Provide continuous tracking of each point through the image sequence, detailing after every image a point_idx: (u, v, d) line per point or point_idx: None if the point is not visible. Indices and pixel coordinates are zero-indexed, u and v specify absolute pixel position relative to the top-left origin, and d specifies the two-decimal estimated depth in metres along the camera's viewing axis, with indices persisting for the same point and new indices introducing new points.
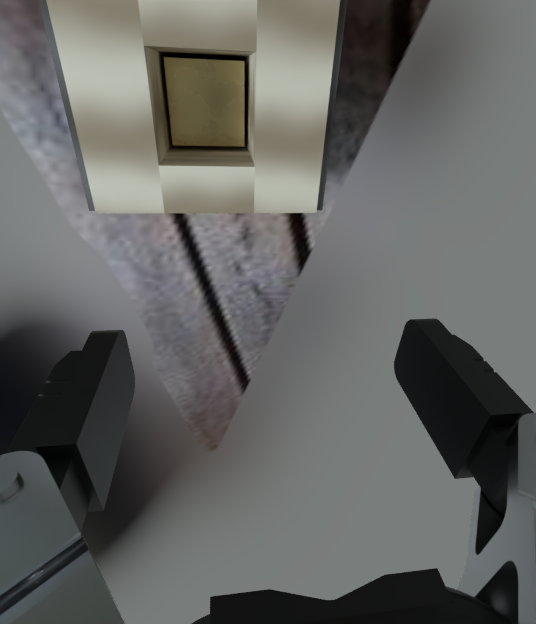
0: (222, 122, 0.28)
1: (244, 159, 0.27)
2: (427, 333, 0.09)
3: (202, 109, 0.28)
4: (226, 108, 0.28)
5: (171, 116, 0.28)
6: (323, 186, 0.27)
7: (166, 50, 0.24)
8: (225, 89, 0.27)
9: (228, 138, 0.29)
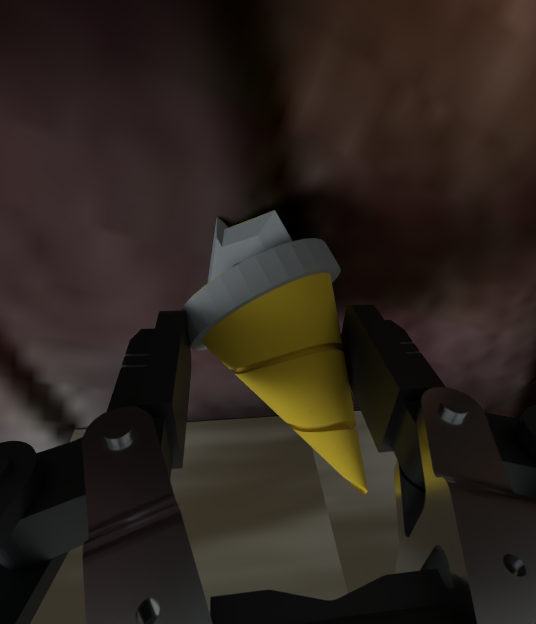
0: None
1: None
2: (360, 317, 0.10)
3: None
4: None
5: None
6: None
7: None
8: None
9: None
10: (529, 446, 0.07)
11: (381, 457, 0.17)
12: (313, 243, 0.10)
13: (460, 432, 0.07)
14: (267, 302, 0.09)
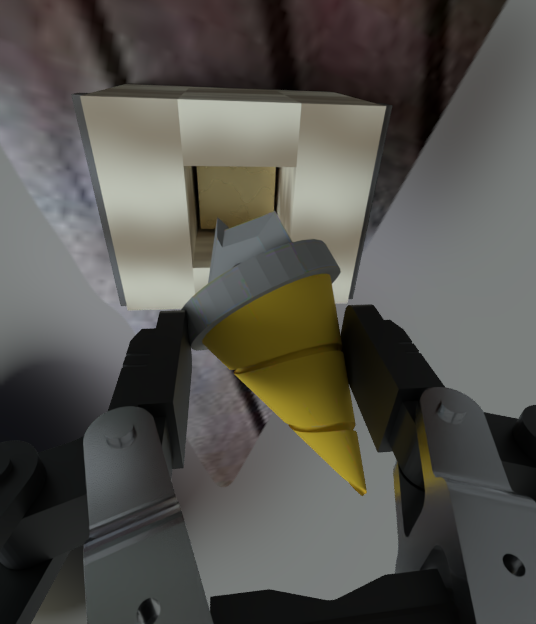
0: (252, 207, 0.28)
1: None
2: (359, 317, 0.10)
3: (232, 196, 0.28)
4: (256, 195, 0.28)
5: (201, 203, 0.28)
6: (355, 278, 0.27)
7: None
8: (256, 178, 0.27)
9: None
10: (528, 446, 0.07)
11: None
12: (313, 244, 0.10)
13: (459, 432, 0.07)
14: (267, 303, 0.09)
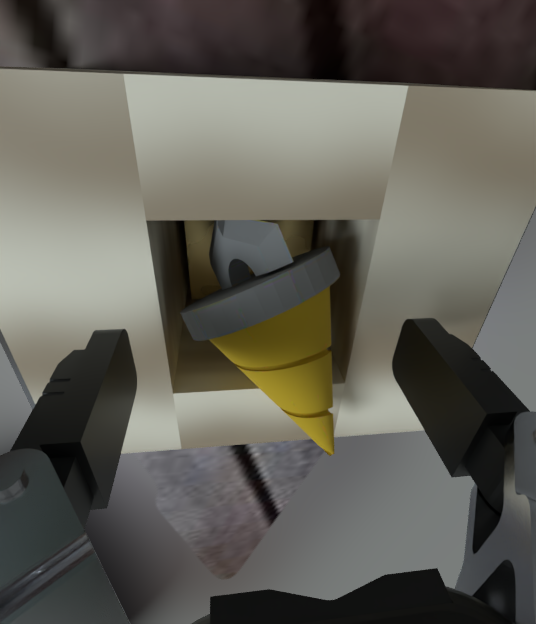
0: None
1: None
2: (424, 332, 0.09)
3: None
4: None
5: (191, 262, 0.17)
6: None
7: None
8: (283, 221, 0.16)
9: None
10: None
11: None
12: (313, 265, 0.10)
13: None
14: (262, 326, 0.10)
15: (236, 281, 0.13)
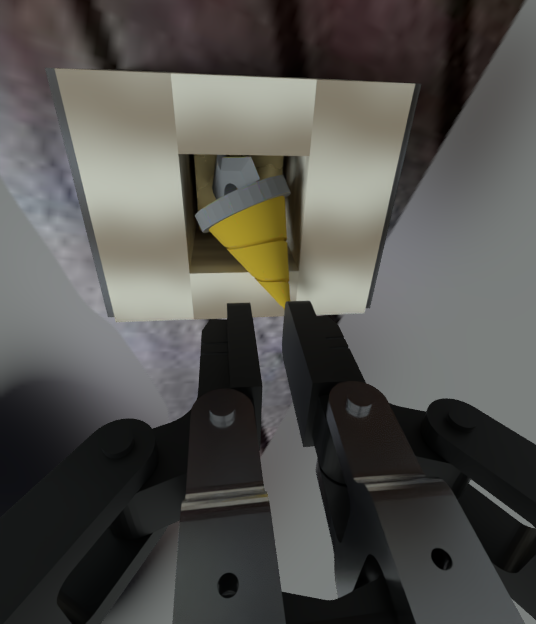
0: None
1: None
2: (292, 313, 0.10)
3: None
4: None
5: (199, 201, 0.25)
6: (373, 285, 0.24)
7: None
8: (261, 173, 0.24)
9: None
10: (438, 446, 0.07)
11: (334, 79, 0.23)
12: (271, 180, 0.18)
13: (359, 425, 0.07)
14: (242, 215, 0.18)
15: None
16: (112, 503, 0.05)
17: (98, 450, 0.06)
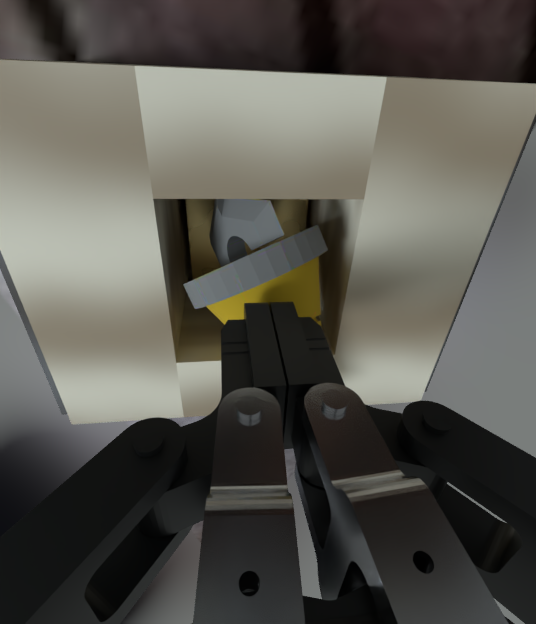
0: None
1: None
2: (274, 314, 0.10)
3: None
4: None
5: (192, 245, 0.18)
6: (434, 364, 0.17)
7: None
8: (278, 207, 0.17)
9: None
10: (415, 451, 0.07)
11: None
12: (302, 237, 0.11)
13: (333, 427, 0.07)
14: (257, 292, 0.11)
15: (234, 258, 0.14)
16: (141, 501, 0.05)
17: (129, 447, 0.06)
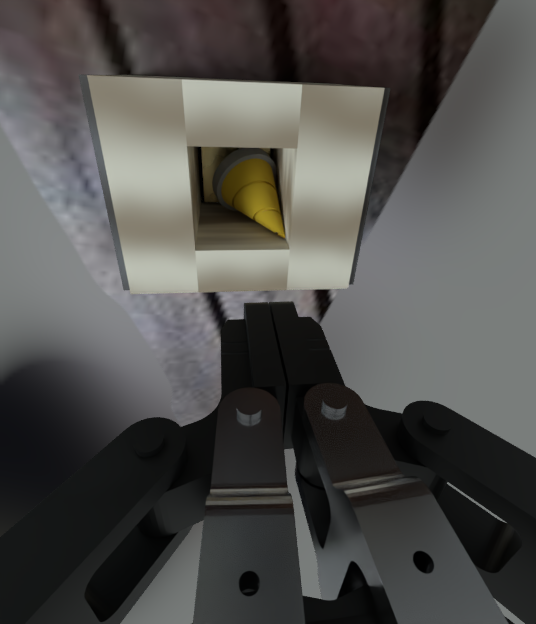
0: None
1: (276, 236, 0.27)
2: (274, 314, 0.10)
3: None
4: None
5: (204, 178, 0.31)
6: (355, 263, 0.27)
7: None
8: None
9: None
10: (415, 451, 0.07)
11: None
12: (260, 149, 0.28)
13: (333, 427, 0.07)
14: (242, 164, 0.27)
15: None
16: (141, 501, 0.05)
17: (130, 447, 0.06)
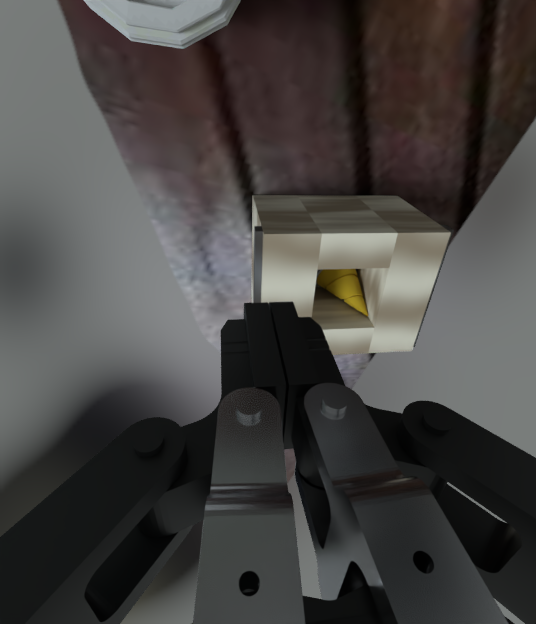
0: None
1: (360, 313, 0.37)
2: (274, 314, 0.10)
3: None
4: None
5: None
6: (418, 333, 0.37)
7: None
8: None
9: None
10: (415, 451, 0.07)
11: (393, 203, 0.37)
12: None
13: (333, 427, 0.07)
14: None
15: None
16: (141, 502, 0.05)
17: (129, 447, 0.06)
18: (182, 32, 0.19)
